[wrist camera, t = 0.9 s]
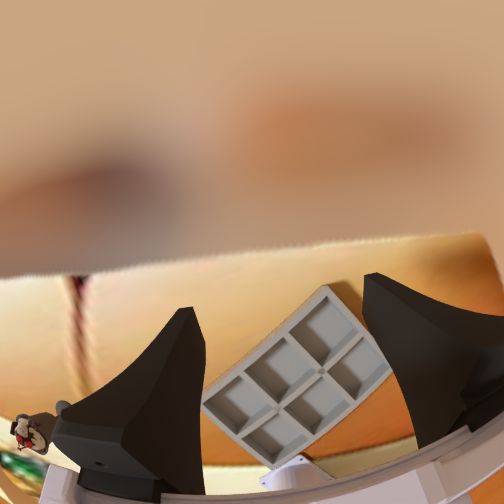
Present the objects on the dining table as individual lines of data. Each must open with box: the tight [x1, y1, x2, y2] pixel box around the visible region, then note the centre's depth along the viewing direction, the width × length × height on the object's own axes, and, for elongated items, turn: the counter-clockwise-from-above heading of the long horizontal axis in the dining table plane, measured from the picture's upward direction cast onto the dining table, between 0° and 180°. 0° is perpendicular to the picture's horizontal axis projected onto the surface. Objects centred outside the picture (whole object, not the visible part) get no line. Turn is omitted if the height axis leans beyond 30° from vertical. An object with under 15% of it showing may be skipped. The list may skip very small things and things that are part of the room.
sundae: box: [10, 401, 71, 455], centre depth 25 cm, size 7×7×15 cm
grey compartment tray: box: [200, 286, 393, 470], centre depth 31 cm, size 14×21×3 cm
